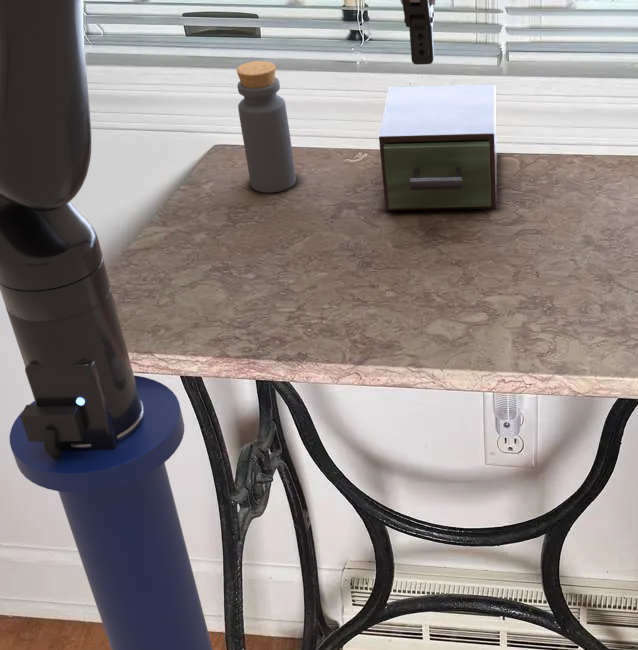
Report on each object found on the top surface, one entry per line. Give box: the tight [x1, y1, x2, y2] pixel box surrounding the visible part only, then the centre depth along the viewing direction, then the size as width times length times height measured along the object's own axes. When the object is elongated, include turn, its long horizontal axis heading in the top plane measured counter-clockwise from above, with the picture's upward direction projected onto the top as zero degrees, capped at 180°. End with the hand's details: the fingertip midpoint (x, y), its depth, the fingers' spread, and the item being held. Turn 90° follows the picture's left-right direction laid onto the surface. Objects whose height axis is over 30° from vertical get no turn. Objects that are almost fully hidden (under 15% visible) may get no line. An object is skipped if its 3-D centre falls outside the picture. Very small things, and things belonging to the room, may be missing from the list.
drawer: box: [384, 140, 491, 209], centre depth 145 cm, size 19×12×8 cm, turn 179°
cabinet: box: [378, 83, 498, 212], centre depth 148 cm, size 16×14×10 cm
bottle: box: [236, 60, 297, 194], centre depth 148 cm, size 6×6×15 cm
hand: (423, 61), depth 120 cm, fingers closed
